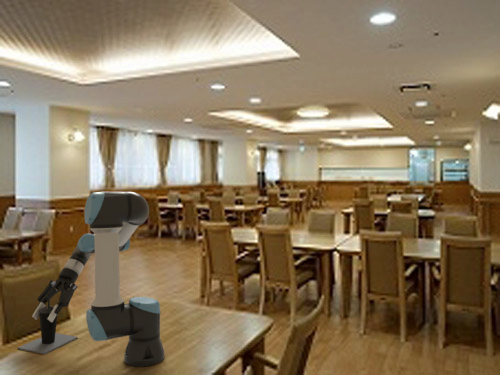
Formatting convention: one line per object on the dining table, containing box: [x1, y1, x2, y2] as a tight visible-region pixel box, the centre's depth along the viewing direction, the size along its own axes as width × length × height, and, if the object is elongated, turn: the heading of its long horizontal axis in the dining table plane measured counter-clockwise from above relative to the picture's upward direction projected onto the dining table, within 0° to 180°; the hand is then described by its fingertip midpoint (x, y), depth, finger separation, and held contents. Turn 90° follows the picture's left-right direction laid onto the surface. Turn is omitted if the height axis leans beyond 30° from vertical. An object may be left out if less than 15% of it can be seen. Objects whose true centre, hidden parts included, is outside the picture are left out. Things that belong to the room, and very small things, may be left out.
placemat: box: [17, 332, 79, 355], centre depth 180 cm, size 14×18×1 cm
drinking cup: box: [39, 294, 59, 344], centre depth 179 cm, size 8×8×20 cm
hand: (42, 319), depth 176 cm, fingers open, 7 cm apart
